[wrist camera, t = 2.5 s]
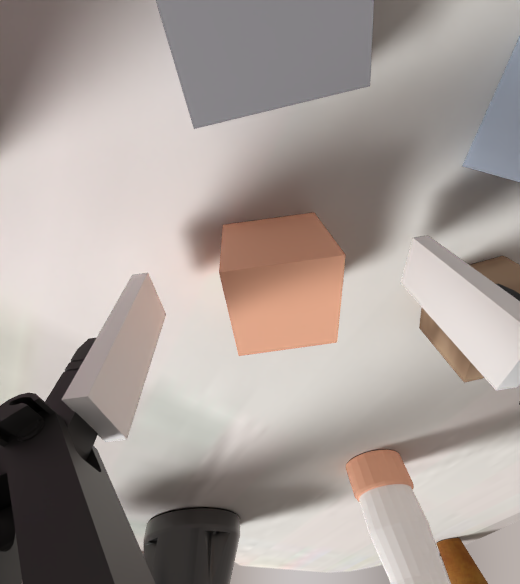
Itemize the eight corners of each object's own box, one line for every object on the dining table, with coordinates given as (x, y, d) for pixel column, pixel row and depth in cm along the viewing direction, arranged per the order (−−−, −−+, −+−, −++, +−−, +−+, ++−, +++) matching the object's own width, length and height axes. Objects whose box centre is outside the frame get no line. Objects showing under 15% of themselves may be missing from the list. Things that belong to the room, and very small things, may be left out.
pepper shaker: (391, 443, 32) (535, 754, 17) (405, 461, 36) (534, 728, 21) (337, 461, 34) (423, 756, 19) (356, 477, 38) (441, 732, 23)
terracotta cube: (312, 286, 17) (336, 342, 13) (237, 296, 17) (238, 355, 13) (313, 212, 14) (345, 254, 10) (222, 224, 14) (219, 272, 10)
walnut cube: (485, 310, 20) (548, 363, 16) (418, 327, 21) (464, 382, 16) (502, 254, 17) (585, 302, 13) (424, 276, 18) (481, 328, 14)
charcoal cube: (320, 91, 11) (369, 86, 7) (207, 119, 11) (194, 128, 7) (311, -105, 8) (387, -301, 4) (158, -63, 8) (93, -210, 4)
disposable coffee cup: (426, 542, 73) (456, 610, 63) (461, 534, 70) (498, 604, 60) (436, 546, 77) (465, 610, 68) (469, 538, 74) (504, 604, 65)
